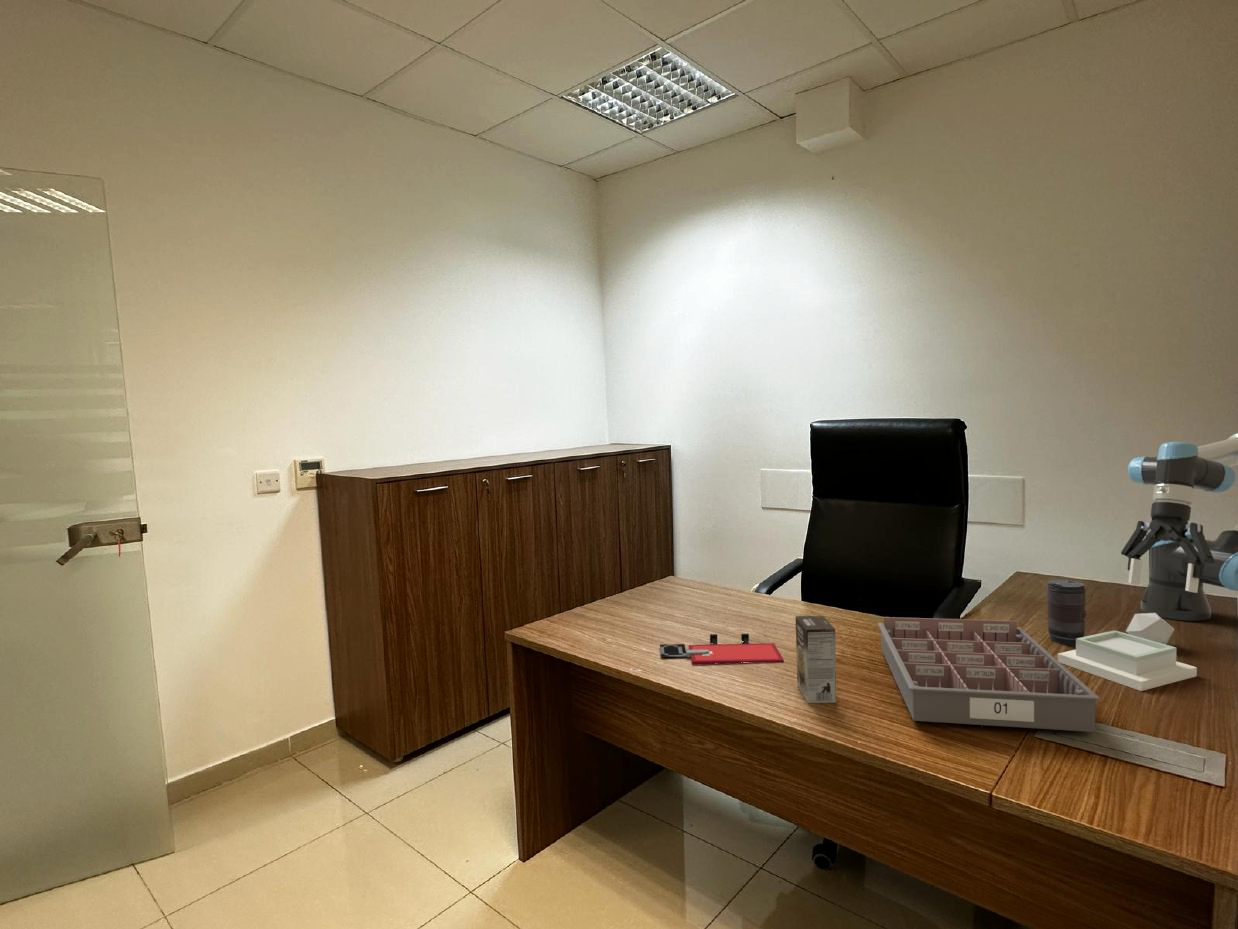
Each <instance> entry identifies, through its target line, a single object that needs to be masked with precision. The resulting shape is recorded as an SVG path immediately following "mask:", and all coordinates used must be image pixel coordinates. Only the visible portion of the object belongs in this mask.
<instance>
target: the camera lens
mask: <svg viewBox="0 0 1238 929" xmlns="http://www.w3.org/2000/svg"><path fill="white" fill-rule="evenodd" d="M1085 588H1086V587H1085V583H1083V582H1080V581H1076V580H1069V579H1052V580H1051V579H1050V580H1049V581H1047V587H1046V600H1047V630H1048V634H1049V638H1050V640H1052V641H1053V642H1056V643H1058V644H1062V645H1070V646H1073V645H1075V646H1076V639H1077V638H1081V637H1085V630H1086V620H1085V618H1086V617H1087V612H1086V610H1085V609H1086V608H1085V606H1086V589H1085Z"/></svg>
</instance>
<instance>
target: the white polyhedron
mask: <svg viewBox="0 0 1238 929" xmlns="http://www.w3.org/2000/svg"><path fill="white" fill-rule="evenodd" d="M1174 631H1175V628H1174V627H1173V626H1172V625H1170V624H1169V623H1168V622H1167V621H1166V620H1165V619H1163V617H1160V616H1158V615H1157V614H1156V613H1146V612H1143V613H1134V614H1133V617H1132V619H1131V621H1130V622H1129V625H1128V626H1127V628H1126V630H1125V632H1126V634H1130V635H1133V636H1137V637H1140V638H1144V639H1147V640H1151V641H1155V642H1158V643H1162V644H1165V645H1168V642H1169V641H1170V639H1171V637H1172V636H1173V633H1174Z"/></svg>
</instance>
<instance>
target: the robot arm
mask: <svg viewBox="0 0 1238 929" xmlns="http://www.w3.org/2000/svg"><path fill="white" fill-rule="evenodd" d="M1235 466H1238V432H1237V433H1234V434H1232V435H1231V436H1229V437H1228V438H1227V439H1224V440H1219V441H1215V442H1212V443H1208V444H1204V445H1200V446H1197V445H1196V444H1194V443H1190V442H1185V441H1184V442H1183V441H1168V442H1164V443H1162V444H1160V446H1159V449H1158V455H1157V456H1147V455H1145V456H1138V457H1134V458H1133V459H1131V460H1130V462H1129V463H1128V465H1127V475H1128V477H1129V479H1130V480H1131V481H1132V482H1133V483H1136V484H1143V485H1147V486H1148V485H1150V486H1151V485H1153V486H1154V487H1153V494H1152V501H1154V502H1153V503H1151V509H1150V510H1151V511H1150V517H1151V521H1150V522H1146V521H1142V520H1139V521H1137V524H1136V528H1135V529H1134V532H1133V533H1132V535H1131V536H1130V537H1129V540H1128V541H1127V542H1126V543H1125V545H1124V546H1123V548H1122V550H1121V551H1120V553H1121V555H1122V556H1125V557H1127V558H1128V562H1127V571H1128V572H1129V573H1128V582H1127V583H1128V584H1130V585H1134V586H1140V583H1141V574H1142V564H1143V560H1142V559H1141V557H1142V556H1144V555H1145V554H1146V553H1147V552H1148V584H1147V587H1146V589H1145V591H1144V594H1143V596H1142V597H1141V600H1140V610H1141V611H1142V612H1143V613H1156V614H1157V615H1158V616H1160V617H1161V618H1162V619H1163V618H1165V619H1171V620H1177V621H1190V622H1191V621H1192V622H1193V621H1195V622H1196V621H1197V622H1198V621H1207V619H1208V620H1210V619H1211V617H1212V609H1211V607H1210V606H1211V605H1210V603H1209V600H1208V597H1207V595H1206V594H1205V593H1206V592H1205V590H1204V584H1205V585H1212V586H1215V587H1220V588H1225V589H1227V590H1231V591H1234V592H1235V591H1236V592H1237V591H1238V522H1237V524H1236V525H1235V526H1234V528H1228V529H1225V530H1222V531H1221V532H1220V534H1219V535H1218V536H1217V538H1215V540H1210V539H1206V536H1205V533H1204V526H1203V524H1200V523H1197V522H1191V523H1188V522H1189V521H1190V519H1191V511H1192V507H1191V506H1190V505H1191V504H1192V503H1193V496H1194V495H1193V494H1194V489H1198V490H1203V491H1205V492H1211V493H1218V494H1219V493H1224V492H1227V491H1228V490H1229V489H1231V487H1232V486H1233V485H1234V484H1235V481H1236V474H1235V471H1234V469H1233V468H1232V467H1235ZM1148 531H1149V532H1148Z"/></svg>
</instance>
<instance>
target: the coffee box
mask: <svg viewBox="0 0 1238 929" xmlns="http://www.w3.org/2000/svg"><path fill="white" fill-rule="evenodd" d="M795 639H796V640H795V642H796V644H795V646H796V648H795V650H796V678H797V680H796V681H797V682H796V683H797V687H798V689H799V691H800V693H801V694H802V697H803V698H804V700H805V702H806V703H807V704H830V703H831V704H834V703H837V677H836V676H837V675H836V674H837V672H836V671H837V667H836V666H837V662H836V661H837V657H836V656H837V655H836V654H837V653H836V651H837V650H836V649H837V648H836V628H835V627H834V626H833V624H831V623H830V622H829V620H827V618H826V617H825V616H824V615H796V616H795Z"/></svg>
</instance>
